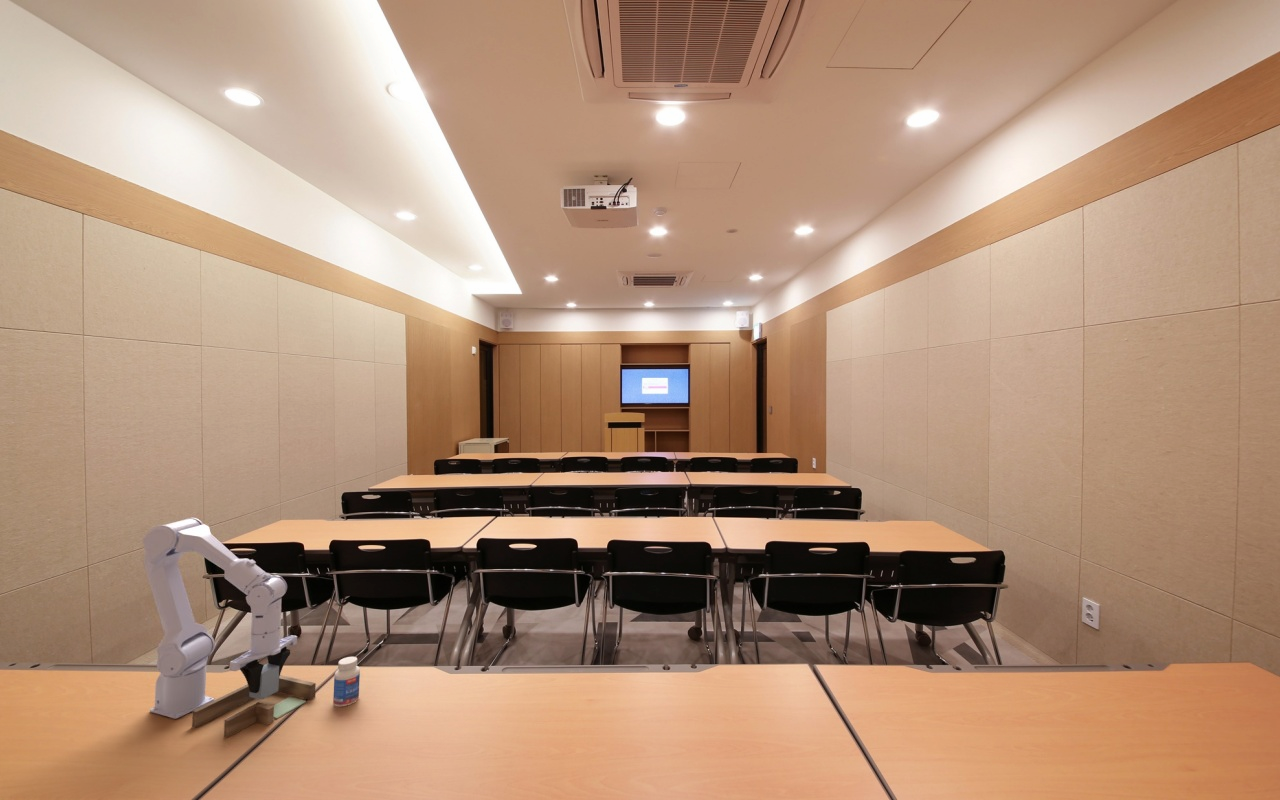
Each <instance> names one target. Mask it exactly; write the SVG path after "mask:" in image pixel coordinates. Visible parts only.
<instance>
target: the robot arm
mask: <svg viewBox="0 0 1280 800" xmlns="http://www.w3.org/2000/svg"><path fill="white" fill-rule="evenodd" d="M141 540H142V541H141V542H142V545H143V548H144V557H143V567H144V570H145V574H146V577H147V580H148V584H149V586H150V590H151V594H152V597H153V600H154V601H153V602H154V603H155V606H156V609H157V610H156V611H157V613H158V614H157V615H158V616H159V620H160V623H161V628H162V630H163V633H164V636H163V637H162V639H161V641H160V642H159V644H158V645H157V647H156V652H157V660H156V668H157V671H158V672H159V673H160V674H159V675H158V677H157V678H156V681H155V690H154V691H155V692H154V693H155V695H154V707H151V708H150V709H149V712H151V713H154V714H157V715H159V716H164V717H167V718H171V719H174V720H175V719H179V718H181V717H183V716H185V715H187V714H189V713H191V712H192V713H193V711H194V710H196V709H198V708H200V707H202V706H204V705H206V704H208V703H210V702H212V701H214V700H215V698H214V697H212V696H208V695H206V684H207V683H206V682H207V681H206V680H207V662H208V661H209V656H210V655H211V654H212V653H213V651H214V650H215V647H216V645H215V644H216V642H215V639H214V637H213V636H212V635H211V634H210V633H209V632H208V629H207V627H206V625H203V624H200V623H197V622H196V620H195V617H194V614H193V610H192V607H191V604H190V603H191V602H190V601H189V600H190V599H189V596H188V593H187V590H186V587H185V584H184V580H183V575H182V574H181V570H180V567H179V563H178V561H179V559H180V558H181V557H182V556H183V554H184V553H189V552H190V553H191V552H192V553H193V552H195V553H197V554H199V555H200V556H202V557H203V558H205V559H206V560H208V561H209V562H211V563H213V564H214V565H216V566H217V567H219V568H221V569H222V570H223V571H224V577H223V578H224V579H225V580H227V581H228V582H229V583H230V584H232V585H233V586H234V587H236V589H238V590H239V591H240V592H242V593H243V594H245V595H246V596H245V600H246V603H247V605H248V606H250V614H251V622H250V623H251V624H250V625H251V627H250V628H251V630H250V649H249V650H247V651H246V652H245V653H243V654H241V655H240V656H239V657H237V658H235V659H233V660H231V661H229V671H232V672H238V671H241V673H242V674H243V676H244V678H245V680H246V683H247V684H248V686H249V690H250V692H252V693H257V692H259V688H260V677H261V672H262V669H263V666H264V665H265V664H262V663H260V661H259V660H260V659H263V658H267V663H268V664H273V665H277V666H279V676H280V675H281V674H282V670H283V667H284V665H285V663H286V661H287V659H288V658H289V656H290V655H291V649H287V648H288V647H289V646H295V645H297V644H298V636H297V635H292V634H291V635H289V636H286V637H282V638H281V626H282V625H281V624H282V597H283V596H284V595H285V594H286V592H287V590H288V584H287V582H286V580H285V579H284V578H283V576H280V575H272V574H270V572H266V571H265V570H263V569H262V568H261V567H260V566H258V565H257V564H256V563H257V562H256V561H255V560H254V559H249V558H239V557H238V556H236V555H235V554H234V553H233V552H232V551H231V550H230V549H228V548H227V547H226V546H225V544H223V543H222V542H221V541H220V540H219V539H217V538H216V537H215V536H214V535H213V534H212V533H211V529H210V526H209V525H207V524H205V523H204V522H203V521H201V520H200V519H198V518H197V517H187V518H184V519H182V520H178V521H174V522H170V523H166V524H159V525H155V526H154V527H152V528H151V529H150V530H149V531H148V533H146V535H144V537H143V538H142V539H141Z"/></svg>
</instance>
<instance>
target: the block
mask: <svg viewBox="0 0 1280 800" xmlns="http://www.w3.org/2000/svg"><path fill="white" fill-rule="evenodd" d="M263 665H264V666H263V669H262V672H261V677H260V688H259V692H257V693H252V692H250V693H249V697H252V698H253V699H257V700H260V701H262V700H264V699H266V698H268V697H269V696H271V695H273V694H276V693H278V692H277V691H278V687H279V666H277V665H273V664H268V662H267V663H265V664H263Z"/></svg>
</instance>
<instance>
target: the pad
mask: <svg viewBox="0 0 1280 800" xmlns="http://www.w3.org/2000/svg"><path fill="white" fill-rule="evenodd" d="M306 703H307V701H306V700H305V699H304V700H303V699H301V698H296V697H293V696H292V697H291V696H288V697H287V698H284V699H282V700H281V701H280V702H278V703H275V704H273V706H274V719H275V720H278V719H280V718H282V717H283V716H285V715H286V714H288V713H290V712H292V711H293V710H296V709H297V708H299V707H300V706H302V705H303V704H306Z"/></svg>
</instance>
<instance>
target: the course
mask: <svg viewBox="0 0 1280 800" xmlns="http://www.w3.org/2000/svg"><path fill="white" fill-rule="evenodd" d="M316 685H317V684H316V682H312V681H308V680H305V679H299V678H295V677H290V676H285V675H283V674H280V676H279V687H278V691H277V692H276V693H280V694H283V695H288V696H292V697H295V698H296V697H297V698H299V699H304V700H309V701H312V700H314V699H315V698H316ZM249 693H250V690H249V686H248V683H247V684H245V685H243V686H241V687H239V688H237V689H234V690H233V691H231V692H228V693H227V694H225V695H223V696H220V697H219V698H216V699H214V701H212V702H210V703H208V704H206V705H204V706H202V707H200V708H198V709H196V710H194V711H192V722H191V727H192V728H195V729H197V728H199V727H200V726H202V725H204V724H206V723H208V722H210V721H212V720H214V719H216V718H218V717H220V716H222V715H224V714H226V713H228V712H230V711H231V710H233V709H235V708H237V707H240V706H241V705H243V704H245V703H247V702H248V701H251V700H252V699H254V698H252V697H249ZM274 719H275V718H274V705H270V704H268V703H263V702H259V701H258V702H255V703H253V704H251V705H250V706H248V707H247V708H244V709H243V710H240V711H238V712H237V713H235V714H233V715H231V716H229V717H227V718H225V719H224V721H223V724H224V725H223V726H224V727H223V729H224V730H223V737H225V738H230V737H231V736H233V735H235V734H237V733H238V732H240V731H242V730H243V729H246V728H247V727H249V726H251V725H253V724H255V723H258V724H263V725H267V726H269V725H270V724H272V723H274Z"/></svg>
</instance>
